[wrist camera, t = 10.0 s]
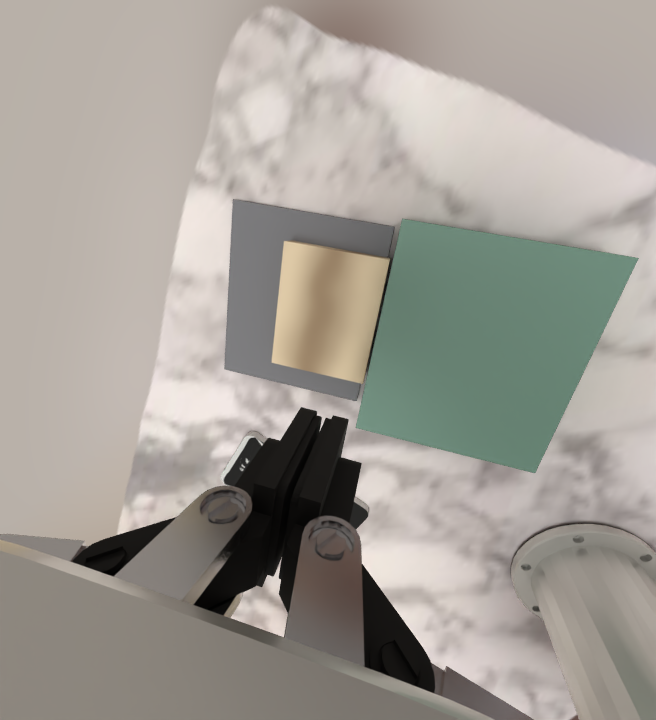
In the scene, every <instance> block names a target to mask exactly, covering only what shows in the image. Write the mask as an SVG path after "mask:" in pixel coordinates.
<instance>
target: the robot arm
mask: <svg viewBox="0 0 656 720" xmlns="http://www.w3.org/2000/svg"><path fill="white" fill-rule="evenodd" d="M321 420H322V417H320V416H317V411H314V410H310V409H306V408H302V407H301V408H300V410H299V411H298V413H297V415H296V416H295V418H294V420H293V421H292V423H291V424H290V426H289V428H288V429H287V431H286V432H285V434H284V436H283V437H282V439H281V440H280V441H279V440H275V439H271V438H268V439H267V440H266V441H265V442H264V444H263V445H262V447H261V448H260V450H259V451H258V452H257V454H256V455H255V457H254V458H253V460H252V461H251V463H250V464H249V465H248V467H247V468H246V470H245V471H244V473H243V474H242V475H241V477H240V478H239V480H238V481H237V483H236V484H235V486H218V487H214V488H211V489H209V490H207V491H205V492H204V493H203V494H201V495H200V496H199V497H198V498H197V499H196V500H195V501H193V502H192V503H191V504H190V505H189V506H188V507H187V508H186V509H185V510H184V511H183V512H182V513H181V514H180V515H179V516H177V517H175V518H172V519H169V520H166V521H162V522H159V523H156V524H152V525H149V526H146V527H143V528H139V529H136V530H133V531H129V532H126V533H123V534H119V535H116V536H113V537H110V538H107V539H103V540H101V541H99V542H96V543H94V544H92V545H91V546H86V545H85V541H81V540H69V539H58V538H46V537H35V536H24V535H14V534H0V720H534V719H532V718H530V717H529V716H527V715H525V714H524V713H522V712H521V711H519V710H517V709H516V708H514V707H512V706H511V705H509V704H508V703H506V702H504V701H503V700H501V699H499V698H498V697H496V696H494V695H493V694H491V693H490V692H488V691H486V690H485V689H483V688H481V687H480V686H478V685H477V684H475V683H473V682H472V681H470V680H468V679H467V678H465V677H463V676H462V675H460V674H459V673H457V672H455V671H454V670H452V669H450V668H449V667H447V666H446V668H445V670H444V671H443V670H442V669H440V668H439V667H437V666H435V665H434V664H432V663H431V662H430V659H429V658H428V656H427V654H426V652H425V651H424V649H423V647H422V646H421V644H420V643H419V642H418V640H417V639H416V638H415V636H414V635H413V633H412V632H411V631H410V629H409V628H408V627H407V625H406V624H405V622H404V621H403V620H402V618H401V617H400V615H399V614H398V613H397V611H396V610H395V609H394V607H393V606H392V604H391V603H390V602H389V600H388V599H387V598H386V596H385V595H384V593H383V592H382V591H381V589H380V588H379V586H378V585H377V584H376V582H375V581H374V580H373V578H372V577H371V575H370V574H369V573H368V571H367V570H366V569H365V567H364V566H363V564H362V556H361V541H360V537H359V535H358V533H357V531H356V529H355V528H354V527H353V526H352V525H351V524H350V518H351V513H352V508H353V503H354V498H355V493H356V488H357V483H358V478H359V473H360V469H361V463H359V462H356V461H352V460H348V459H345V458H341V454H342V449H343V444H344V440H345V435H346V430H347V426H348V420H349V419H345V418H341V417H337V416H333V417H332V419H328V418H326V419H325V421H324V424H323V426H322V428H321V430H320V425H321ZM319 431H320V433H319ZM281 557H282V560H281ZM280 560H281V567H280V573H279V579H281V584H280V591H279V595H280V597H281V599H282V602H283V604H284V606H285V608H286V610H287V612H288V617H287V623H286V629H285V635H284V637H281V636H278V635H276V634H273V633H270V632H267V631H265V630H262V629H259V628H256V627H253V626H251V625H248V624H245V623H242V622H239V621H237V620H234V619H231V616H232V614H233V613H234V611H235V610H236V608H237V606H238V605H239V603H240V601H241V599H242V597H243V592H244V591H247V590H249V589H251V588H253V587H255V586H256V585H257V586H260V587H262V586H263V584H264V581H265V579H266V577H267V575H270V576H274V575H275V572H276V570H277V567H278V565H279V562H280ZM511 578H512V582H513V586H514V589H515V591H516V594H517V596H518V598H519V599H520V601H521V602H522V603H523V605H524V606H525V607H526V608H527V609H528V610H529V611H531V612H532V613H533V614H535V615H536V616H538V617H540V618H541V619H543V620H544V623H545V626H546V629H547V632H548V634H549V637H550V640H551V643H552V645H553V648H554V651H555V654H556V656H557V659H558V662H559V665H560V668H561V670H562V673H563V676H564V679H565V681H566V684H567V687H568V690H569V693H570V695H571V698H572V701H573V704H574V706H575V709H576V712H577V715H578V718H579V720H656V553H655V551H654V550H653V549H652V548H651V547H650V546H648V545H647V544H646V543H645V542H644V541H642V540H641V539H639V538H638V537H636V536H635V535H632V534H630V533H628V532H625V531H623V530H620V529H616V528H613V527H609V526H603V525H595V524H573V525H566V526H560V527H557V528H553V529H550V530H547V531H545V532H542V533H540V534H538V535H536V536H534V537H533V538H532V539H530V540H529V541H527V542H526V543H525V544H524V545H523V546H522V547H521V548H520V549H519V550H518V552H517V553H516V555H515V557H514V559H513V562H512V566H511Z"/></svg>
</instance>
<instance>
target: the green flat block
mask: <svg viewBox="0 0 656 720" xmlns="http://www.w3.org/2000/svg"><path fill="white" fill-rule="evenodd" d="M637 261H638V258H635V257H629V256H623V255H617V254H611V253H605V252H599V251H593V250H587V249H581V248H575V247H569V246H563V245H557V244H551V243H545V242H539V241H533V240H527V239H521V238H515V237H509V236H503V235H497V234H491V233H485V232H479V231H473V230H467V229H461V228H455V227H449V226H443V225H437V224H431V223H425V222H419V221H413V220H407V219H402V222H401V227H400V231H399V236H398V240H397V245H396V249H395V254H394V258H393V263H392V267H391V272H390V276H389V281H388V285H387V290H386V294H385V298H384V303H383V307H382V312H381V316H380V321H379V325H378V330H377V334H376V339H375V343H374V348H373V352H372V357H371V361H370V366H369V370H368V375H367V379H366V384H365V388H364V393H363V397H362V402H361V406H360V411H359V415H358V419H357V424H356V428H358V429H362V430H366V431H370V432H374V433H378V434H382V435H386V436H390V437H394V438H398V439H402V440H406V441H410V442H414V443H418V444H422V445H425V446H429V447H433V448H437V449H441V450H445V451H449V452H453V453H457V454H461V455H465V456H469V457H473V458H477V459H481V460H485V461H489V462H493V463H496V464H500V465H504V466H508V467H512V468H516V469H520V470H524V471H528V472H532V473H535V472H536V470H537V468H538V466H539V464H540V462H541V460H542V458H543V456H544V454H545V451H546V449H547V447H548V445H549V443H550V441H551V439H552V437H553V435H554V433H555V431H556V429H557V427H558V424H559V422H560V420H561V418H562V416H563V414H564V412H565V410H566V408H567V406H568V404H569V402H570V400H571V397H572V395H573V393H574V391H575V389H576V387H577V385H578V383H579V381H580V379H581V377H582V375H583V373H584V371H585V368H586V366H587V364H588V362H589V360H590V358H591V356H592V354H593V352H594V350H595V348H596V346H597V344H598V341H599V339H600V337H601V335H602V333H603V331H604V329H605V327H606V325H607V323H608V321H609V319H610V317H611V314H612V312H613V310H614V308H615V306H616V304H617V302H618V300H619V298H620V296H621V294H622V292H623V290H624V287H625V285H626V283H627V281H628V279H629V277H630V275H631V273H632V271H633V269H634V267H635V265H636V263H637Z"/></svg>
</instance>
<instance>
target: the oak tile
mask: <svg viewBox="0 0 656 720" xmlns="http://www.w3.org/2000/svg"><path fill="white" fill-rule="evenodd" d="M390 259H391V258H387V257H381V256H376V255H370V254H365V253H359V252H353V251H348V250H342V249H337V248H331V247H326V246H320V245H315V244H309V243H303V242H298V241H292V240H291V241H284V246H283V256H282V265H281V275H280V285H279V295H278V304H277V314H276V324H275V333H274V343H273V353H272V362H271V363H275V364H279V365H284V366H288V367H292V368H297V369H301V370H305V371H309V372H314V373H318V374H322V375H327V376H331V377H335V378H340V379H344V380H348V381H352V382H357V383H361V384H363V382H364V378H365V374H366V370H367V365H368V361H369V356H370V351H371V347H372V342H373V338H374V333H375V328H376V324H377V319H378V315H379V310H380V305H381V301H382V296H383V292H384V287H385V282H386V278H387V273H388V269H389V264H390Z"/></svg>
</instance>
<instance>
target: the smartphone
mask: <svg viewBox="0 0 656 720" xmlns="http://www.w3.org/2000/svg"><path fill="white" fill-rule="evenodd" d="M266 440H267V438H266V437H264V436H263V435H261V434H260V433H258V432H256V431H251V432H249V433H248V434H247V435H246V436H245V438H244V439H243V441H242V442H241V444H240V446H239V447H238V449H237V450H236V452H235V454H234V455H233V457H232V458H231V460H230V462H229V463H228V465H227V466H226V468H225V469H224V471H223V473H222V474H221V481H222V482H223V483H224V484H225V485H227V486H235V484H236V483H237V481H238V480H239V478H240V477H241V475H242V474H243V473H244V471H245V470H246V468H247V467H248V465H249V464H250V463H251V461H252V460H253V458H254V457H255V455H256V454H257V452H258V451H259V450H260V448H261V447H262V445H263V444H264V442H265V441H266ZM368 511H369V508H368V506H367V504H365V503H364V502H362V501H361V500H359V499H358V498H356V497H355V498H354V503H353V508H352V513H351V518H350V524H351V525H352V526H353V527H354V528H355V529H357V528H358V527H359V526H360V525H361V524H362V523H363V522H364V521H365V520H366V518H367V517H368Z"/></svg>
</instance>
